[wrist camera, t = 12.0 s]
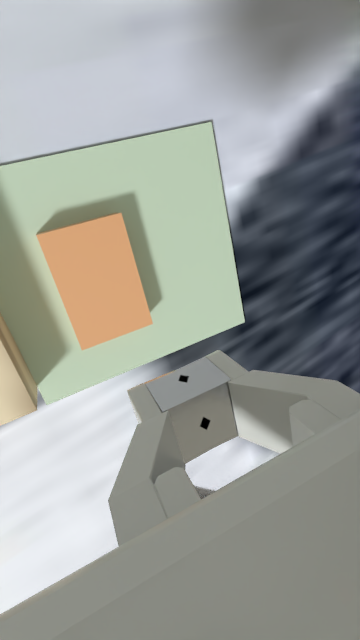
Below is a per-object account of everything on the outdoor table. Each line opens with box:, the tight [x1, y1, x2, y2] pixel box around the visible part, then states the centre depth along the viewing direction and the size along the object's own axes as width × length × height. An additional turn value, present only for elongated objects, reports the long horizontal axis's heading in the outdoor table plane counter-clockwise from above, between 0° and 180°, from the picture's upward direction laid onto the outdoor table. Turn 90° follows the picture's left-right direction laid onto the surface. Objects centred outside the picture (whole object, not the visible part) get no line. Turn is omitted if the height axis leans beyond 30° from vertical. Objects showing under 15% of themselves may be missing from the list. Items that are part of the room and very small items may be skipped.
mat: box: [0, 122, 245, 405], centre depth 27 cm, size 20×18×1 cm
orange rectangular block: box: [36, 213, 153, 350], centre depth 25 cm, size 6×9×2 cm, turn 14°
